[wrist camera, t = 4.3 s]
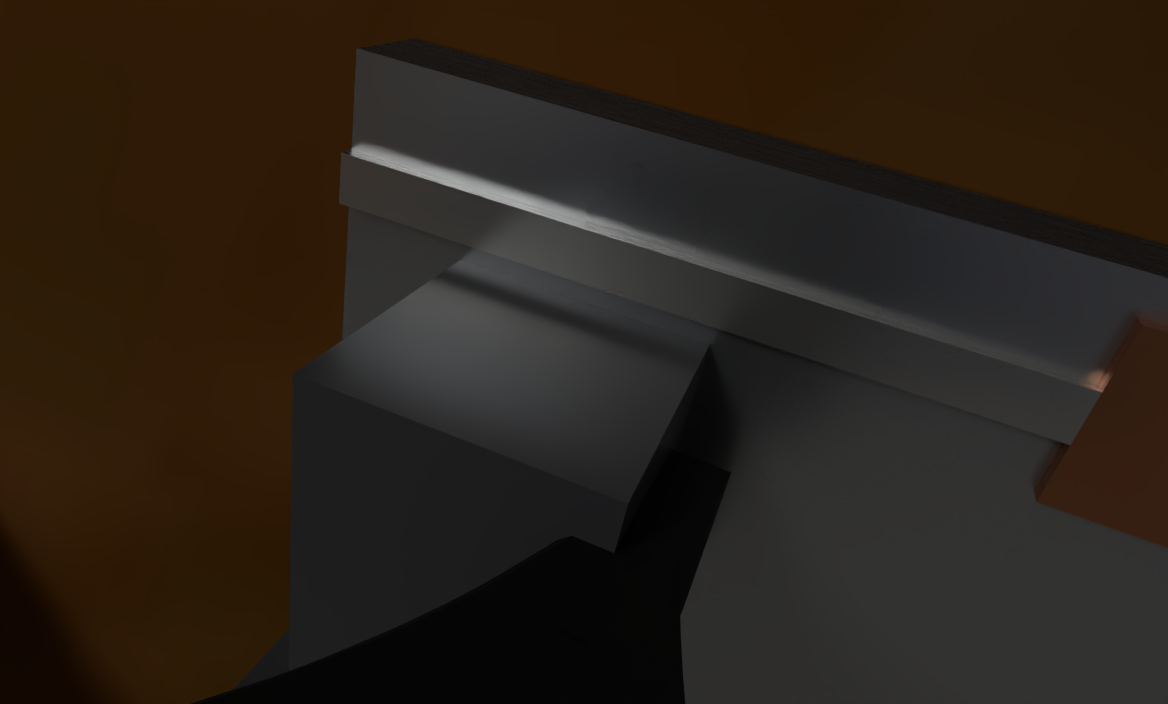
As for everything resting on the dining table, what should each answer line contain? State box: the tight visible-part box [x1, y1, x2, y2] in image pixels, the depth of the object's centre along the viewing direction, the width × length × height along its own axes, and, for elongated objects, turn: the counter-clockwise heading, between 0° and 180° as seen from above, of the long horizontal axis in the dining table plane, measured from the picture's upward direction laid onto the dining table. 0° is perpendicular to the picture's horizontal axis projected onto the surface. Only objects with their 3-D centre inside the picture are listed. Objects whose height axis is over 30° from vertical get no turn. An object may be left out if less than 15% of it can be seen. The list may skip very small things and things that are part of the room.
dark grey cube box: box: [289, 261, 710, 671], centre depth 9 cm, size 3×4×3 cm
